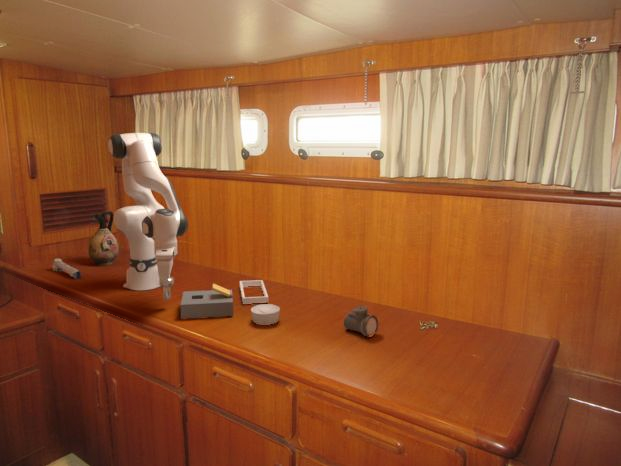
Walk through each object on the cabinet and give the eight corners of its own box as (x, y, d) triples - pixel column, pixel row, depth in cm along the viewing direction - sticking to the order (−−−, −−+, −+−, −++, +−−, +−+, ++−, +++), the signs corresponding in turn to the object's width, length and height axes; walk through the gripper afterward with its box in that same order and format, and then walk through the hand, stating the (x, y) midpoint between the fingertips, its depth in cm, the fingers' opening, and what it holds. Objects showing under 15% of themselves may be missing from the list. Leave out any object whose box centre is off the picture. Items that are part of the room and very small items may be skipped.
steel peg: (160, 295, 184) (160, 276, 182) (174, 295, 185) (174, 276, 183) (159, 300, 178) (158, 280, 177) (173, 300, 180) (173, 280, 178)
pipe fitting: (380, 333, 162) (378, 306, 160) (367, 341, 156) (364, 314, 154) (355, 327, 170) (352, 302, 168) (341, 334, 165) (338, 308, 163)
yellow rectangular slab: (212, 285, 183) (213, 282, 183) (231, 293, 185) (232, 290, 185) (212, 290, 177) (213, 287, 177) (231, 298, 179) (233, 295, 179)
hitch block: (183, 305, 187) (183, 291, 186) (231, 302, 191) (231, 289, 190) (181, 319, 172) (180, 304, 170) (233, 316, 176) (233, 302, 175)
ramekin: (245, 324, 168) (245, 311, 167) (259, 314, 179) (259, 302, 178) (271, 329, 164) (271, 315, 163) (284, 318, 175) (284, 306, 174)
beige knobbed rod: (72, 272, 217) (49, 256, 232) (72, 285, 219) (50, 268, 234) (83, 270, 222) (60, 255, 236) (83, 282, 223) (60, 266, 238)
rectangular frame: (239, 286, 213) (239, 281, 212) (262, 285, 215) (262, 280, 214) (242, 304, 189) (242, 298, 188) (268, 303, 191) (268, 297, 190)
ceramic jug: (100, 268, 238) (96, 213, 232) (84, 264, 246) (79, 211, 240) (128, 262, 252) (125, 210, 246) (112, 258, 260) (108, 208, 254)
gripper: (160, 243, 187) (161, 275, 189) (154, 256, 167) (155, 291, 170) (176, 243, 188) (176, 274, 191) (171, 256, 168) (172, 290, 171)
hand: (166, 282), depth 180 cm, fingers closed on steel peg, 6 cm apart
